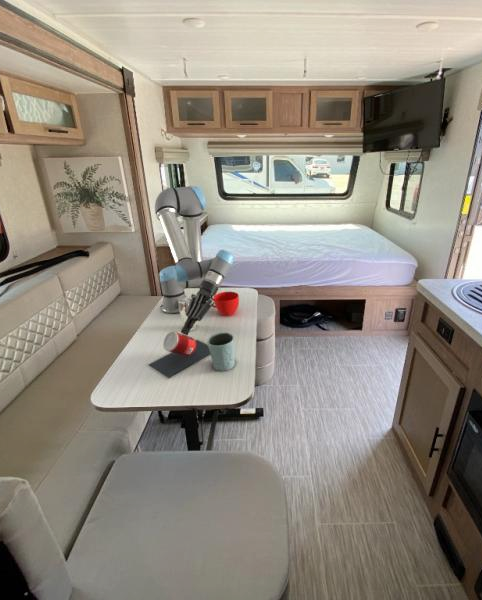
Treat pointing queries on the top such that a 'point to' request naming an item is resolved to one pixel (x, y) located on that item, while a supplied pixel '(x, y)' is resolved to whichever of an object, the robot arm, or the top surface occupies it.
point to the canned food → (179, 343)
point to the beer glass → (184, 310)
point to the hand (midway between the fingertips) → (183, 333)
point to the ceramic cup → (226, 303)
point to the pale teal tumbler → (222, 351)
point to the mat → (180, 360)
